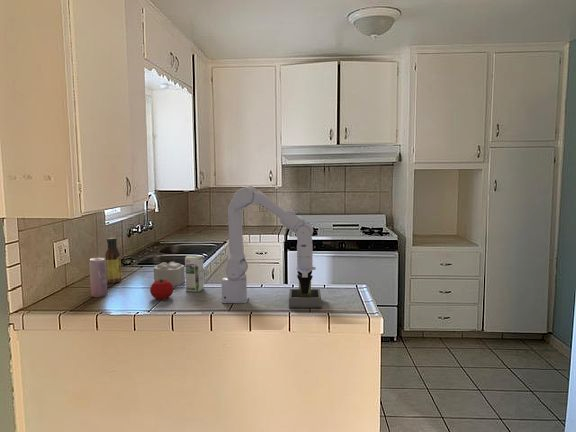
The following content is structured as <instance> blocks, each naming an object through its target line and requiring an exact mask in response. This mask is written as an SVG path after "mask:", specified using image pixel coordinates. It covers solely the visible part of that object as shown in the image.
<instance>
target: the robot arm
mask: <svg viewBox="0 0 576 432" xmlns="http://www.w3.org/2000/svg"><path fill="white" fill-rule="evenodd" d="M249 205H254V206H255V205H256V206H262V207H264V208H265V209H266V210H268V211H269V212H271V213H272V214H274V215H275V216H276V217H278V218H279V220H278V221H279V223H280V224H282V225H283V226H284V227H286V228H287V230H289V231H290V232H292V233H295V237H296V238H297V239H296V240H297V244H296V270H297V275H296V277H297V279H298V283H299V282H300V286H301V291H302V294H308V291H309V285H310V281H311V282H312V280H313V275H312V274H313V271H315V270H316V266H313V265H314V264H313V256H314V255H313V237H312V235H313V233H314V227H313V226H312V225H311V223H310V222H307V221H306V220H305V219H302V218H300V217H299V216H298V215H297V214H296V212H295V211H294V210H290V209H287V210H285V209H284V208H282V207H281V206H280V205H278V204H277V203H276V202H275V201H273V200H272V199H271V198H270V197H269V196H268V195H266V194H265V193H264V192H262V191H261V190H259V189H257V188H256V187H254V186H247V187H241V188H239V189H238V190H237V191H235V192H234V193H233V197H232V199H231V201H230V202H229V204H228V205H227V206H228V207H227V220H228V221H227V222H228V242H229V243H228V245H229V253H228V254H229V255H228V257H227V264H226V267H225V270H224V273H225V275H226V277H222V279H221V303H222V304H246V303H248V300H249V298H250V296H249V295H248V291H247V289H248V288H247V287H248V285H247V274H246V272H247V271H248V268H249V266H248V262H247V260H246V255H245V252H244V242H243V241H244V240H243V239H244V238H243V213H242V212H243V211H244V210H245V209H246V208H247V207H248V206H249Z"/></svg>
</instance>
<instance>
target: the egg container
mask: <svg viewBox="0 0 576 432" xmlns="http://www.w3.org/2000/svg"><path fill="white" fill-rule="evenodd" d="M153 277H154V278H153V283H154V282H155V281H158V280H159V279H160V280H161V279H162V280H168V281H170V282H171V283H172V285H173V287H174V286H175V287H176V286H179V285H181V284H183V283H184V282H186V274H185V264H181V263H178V262H176V261H170V262H168V263H167V262H161V263H159V264H157V265H155V266H154V267H153Z"/></svg>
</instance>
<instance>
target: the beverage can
mask: <svg viewBox="0 0 576 432" xmlns="http://www.w3.org/2000/svg"><path fill="white" fill-rule="evenodd" d="M88 265H89V279H90V295H91V297H93V298H102V297H105V296H107V294H108V279H107V271H106V257H93V258H90V259H89V262H88Z"/></svg>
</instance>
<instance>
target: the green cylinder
mask: <svg viewBox="0 0 576 432" xmlns="http://www.w3.org/2000/svg"><path fill="white" fill-rule="evenodd" d="M298 289H299V297H311V289H312V280H311V281H310V285H309V291H308V294H302V291H301V286H300V282H299V281H298Z"/></svg>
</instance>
